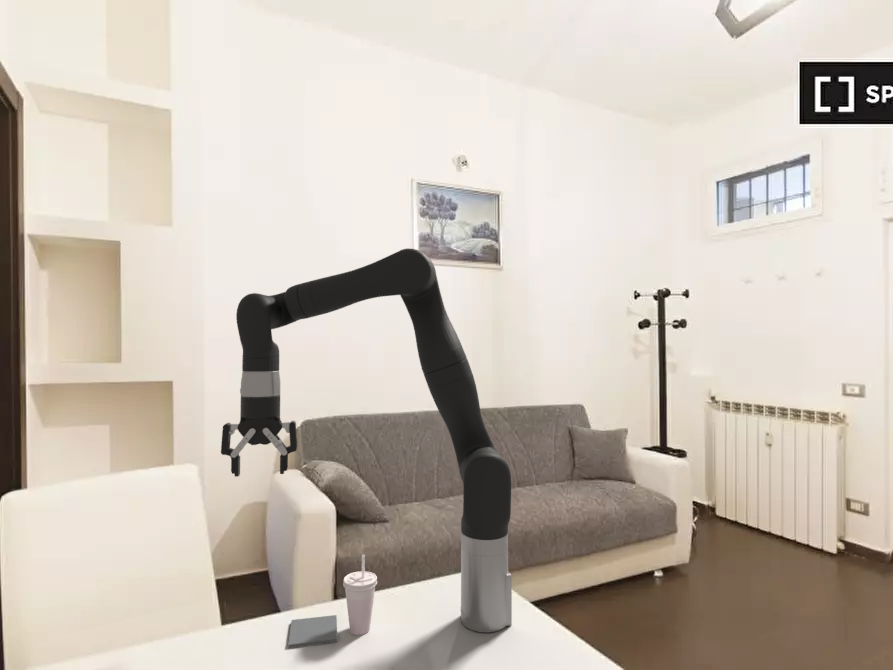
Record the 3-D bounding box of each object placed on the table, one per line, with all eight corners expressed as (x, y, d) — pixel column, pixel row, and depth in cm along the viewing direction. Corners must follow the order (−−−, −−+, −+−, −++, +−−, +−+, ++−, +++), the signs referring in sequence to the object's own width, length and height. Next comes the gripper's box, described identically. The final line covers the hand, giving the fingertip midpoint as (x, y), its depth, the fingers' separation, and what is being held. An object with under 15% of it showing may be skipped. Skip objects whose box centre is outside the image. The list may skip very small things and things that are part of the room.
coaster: (336, 618, 101) (336, 614, 101) (337, 642, 93) (337, 638, 93) (291, 623, 99) (291, 620, 99) (288, 648, 91) (288, 644, 91)
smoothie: (370, 641, 93) (370, 563, 94) (337, 637, 94) (337, 560, 95) (381, 622, 99) (382, 549, 100) (350, 619, 101) (351, 547, 101)
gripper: (298, 391, 108) (297, 468, 108) (226, 392, 105) (225, 472, 105) (296, 394, 101) (295, 477, 101) (218, 395, 98) (217, 481, 98)
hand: (259, 474), depth 103 cm, fingers open, 8 cm apart
